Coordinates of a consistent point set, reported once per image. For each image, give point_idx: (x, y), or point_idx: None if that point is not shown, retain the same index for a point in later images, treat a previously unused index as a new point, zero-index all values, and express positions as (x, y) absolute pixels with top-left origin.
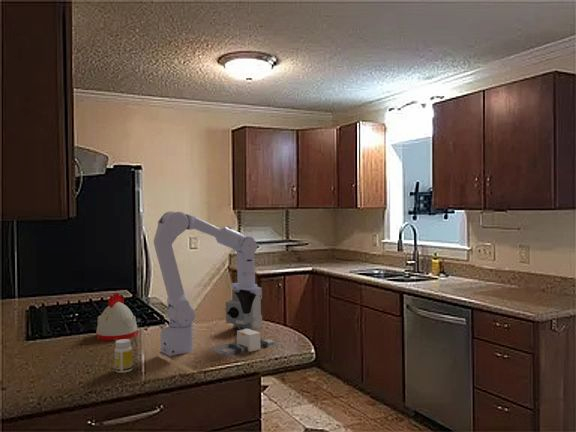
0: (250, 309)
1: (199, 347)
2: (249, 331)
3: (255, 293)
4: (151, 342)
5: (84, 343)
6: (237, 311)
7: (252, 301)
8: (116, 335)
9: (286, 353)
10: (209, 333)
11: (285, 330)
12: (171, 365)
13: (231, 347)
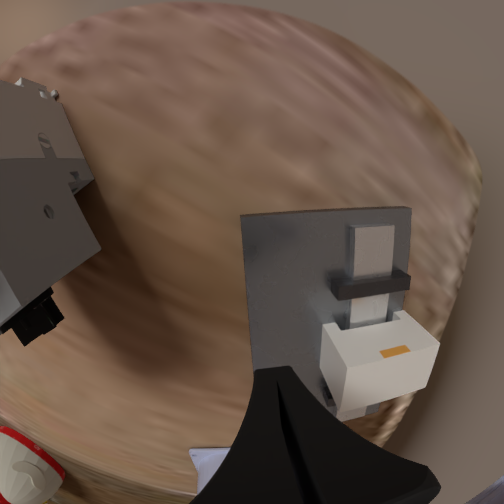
0: (300, 385)
1: (201, 427)
2: (394, 375)
3: (501, 487)
4: (97, 459)
5: (76, 493)
6: (37, 307)
7: (350, 436)
8: (61, 479)
9: (456, 234)
10: None
11: (171, 17)
12: None
13: None
